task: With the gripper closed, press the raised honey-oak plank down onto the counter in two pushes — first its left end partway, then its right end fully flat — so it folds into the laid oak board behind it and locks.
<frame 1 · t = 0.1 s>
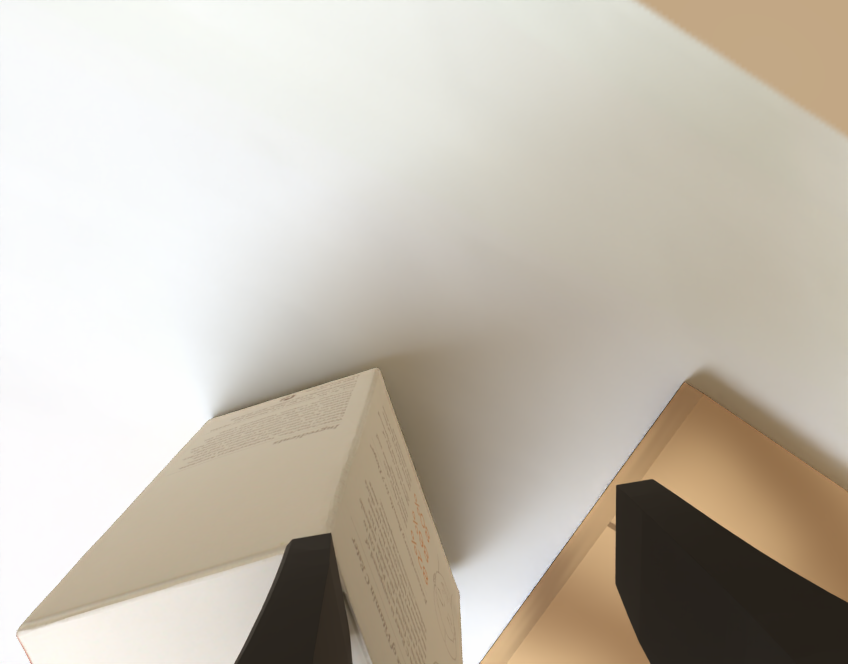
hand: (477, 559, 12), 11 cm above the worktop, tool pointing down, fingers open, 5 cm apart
small box: (339, 504, 23), on the worktop, touching gripper
laid board: (638, 663, 26), on the worktop
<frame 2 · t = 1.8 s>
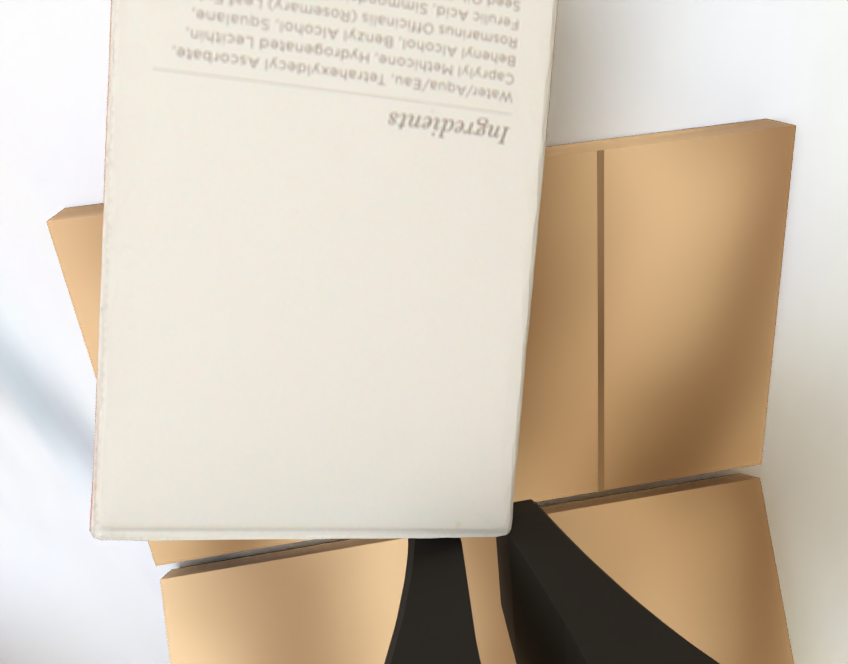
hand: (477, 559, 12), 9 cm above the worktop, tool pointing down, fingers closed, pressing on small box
laid board: (446, 340, 20), on the worktop
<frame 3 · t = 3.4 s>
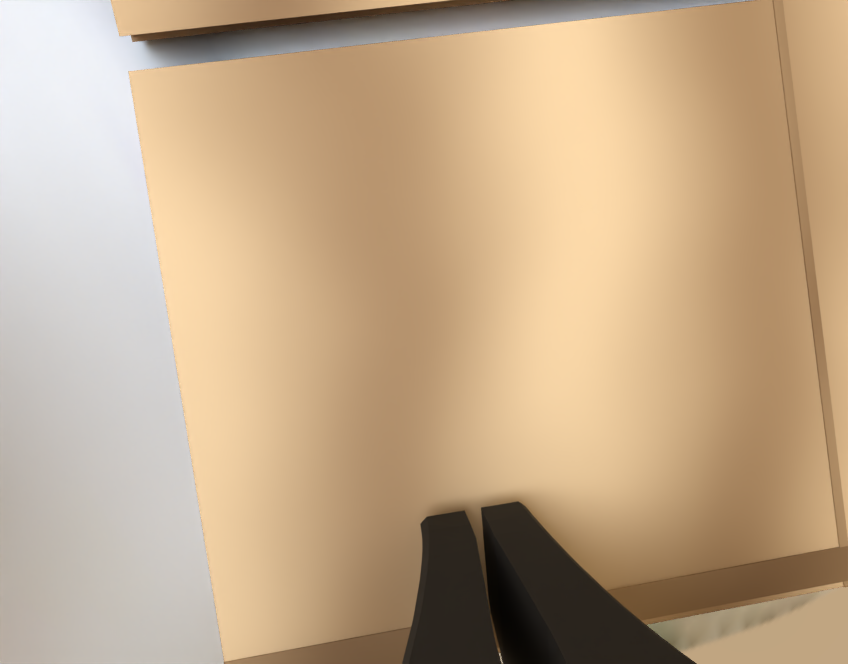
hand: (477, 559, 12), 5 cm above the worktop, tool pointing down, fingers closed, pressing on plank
plank: (711, 310, 13), point 3 cm above the worktop, hinge at 21.4°, touching gripper
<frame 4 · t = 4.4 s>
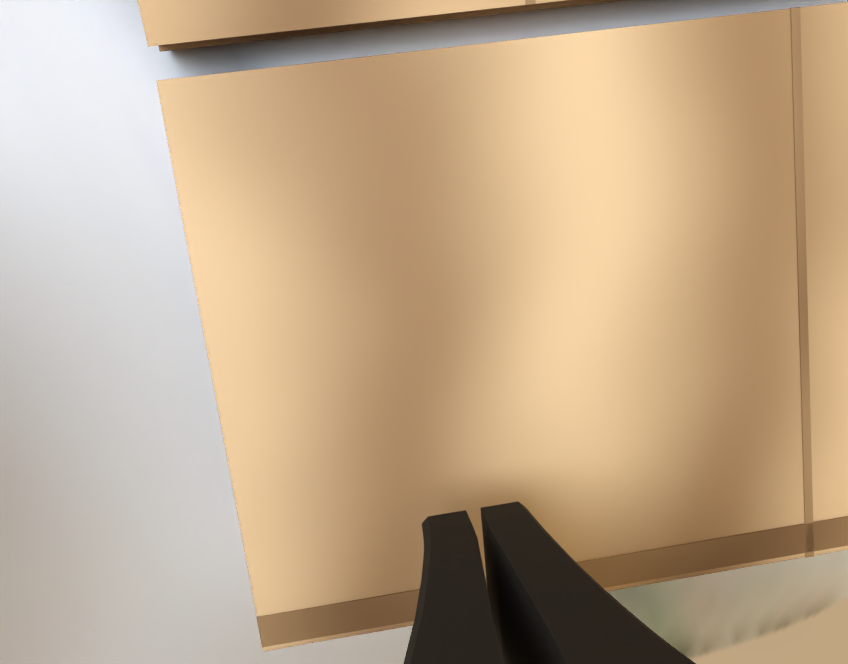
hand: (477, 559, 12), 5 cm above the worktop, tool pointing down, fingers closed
plank: (707, 308, 14), point 2 cm above the worktop, hinge at 12.6°
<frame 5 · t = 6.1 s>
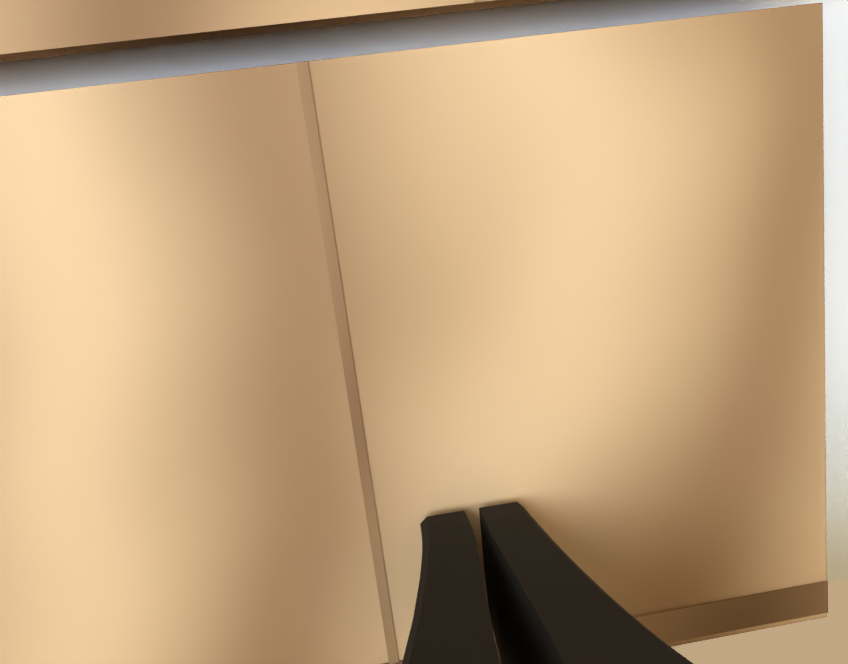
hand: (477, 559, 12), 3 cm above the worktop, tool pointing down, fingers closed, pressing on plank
plank: (259, 414, 11), point 2 cm above the worktop, hinge at 11.4°, touching gripper
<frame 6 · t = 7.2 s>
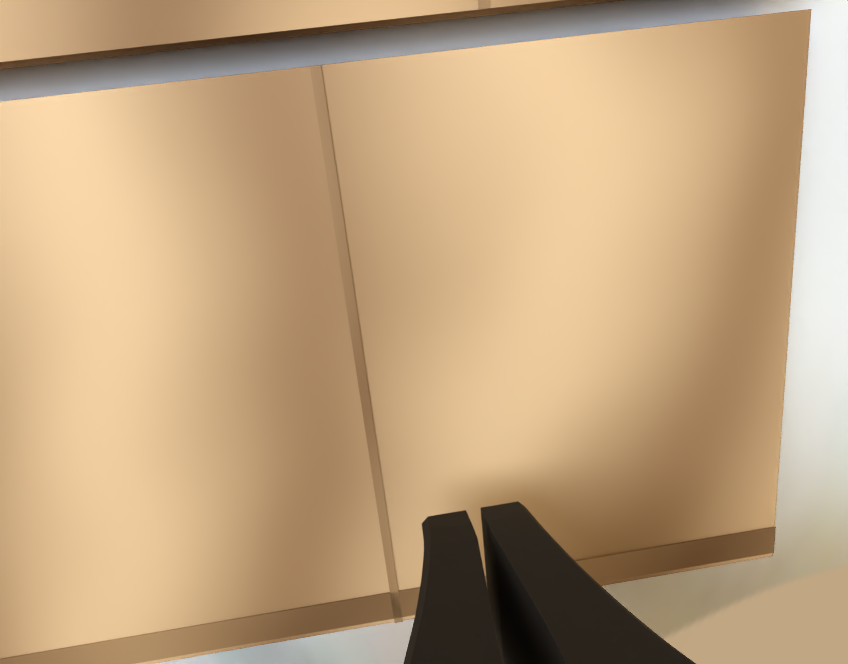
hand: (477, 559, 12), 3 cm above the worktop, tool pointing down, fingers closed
plank: (275, 382, 13), point 1 cm above the worktop, hinge at 3.4°
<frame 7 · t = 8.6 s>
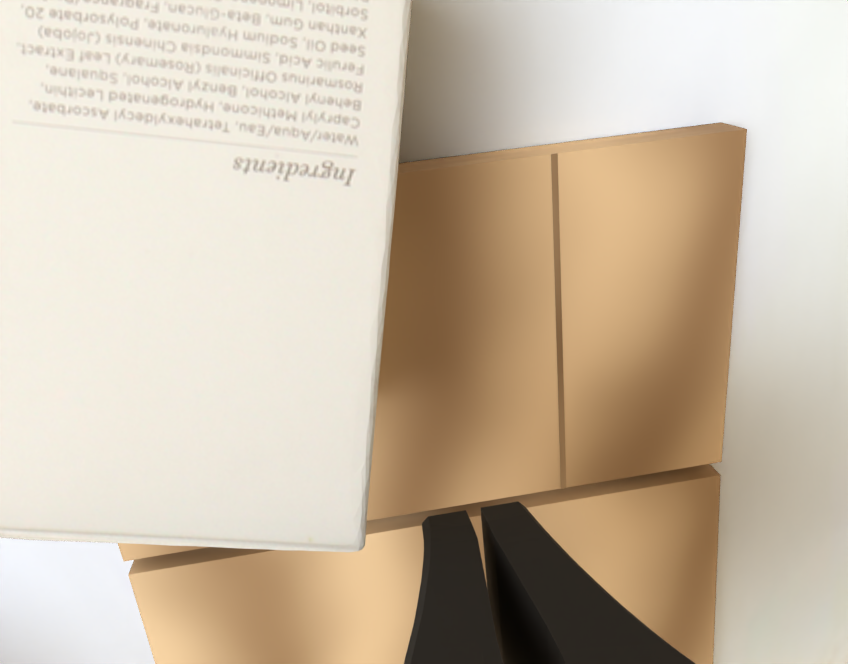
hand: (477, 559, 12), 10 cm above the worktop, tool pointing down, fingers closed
plank: (447, 640, 24), point 1 cm above the worktop, hinge at 3.4°
laid board: (409, 340, 21), on the worktop
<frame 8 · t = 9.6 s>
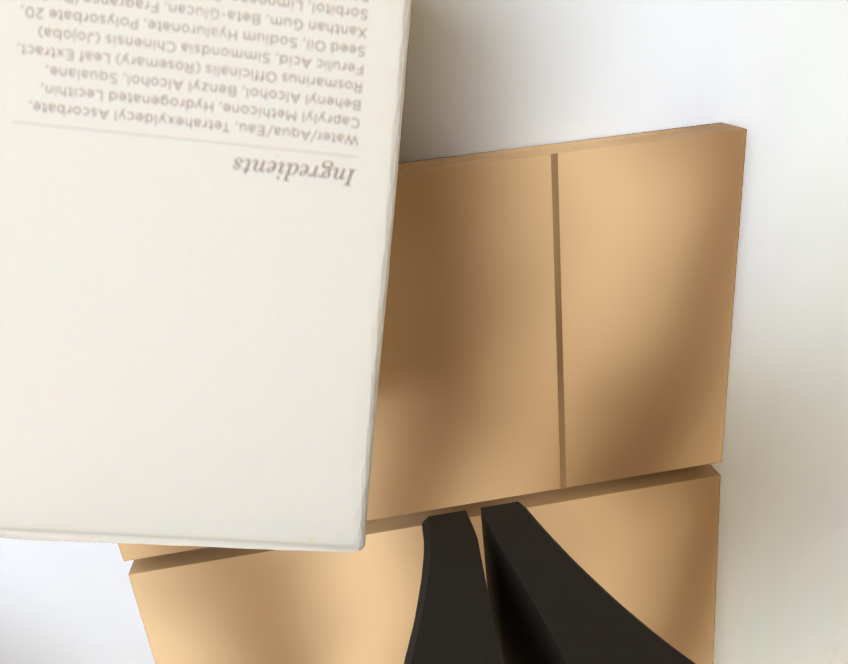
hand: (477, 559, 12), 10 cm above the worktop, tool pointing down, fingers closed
plank: (447, 640, 24), point 1 cm above the worktop, hinge at 3.4°
laid board: (409, 340, 21), on the worktop
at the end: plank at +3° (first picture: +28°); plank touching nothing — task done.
